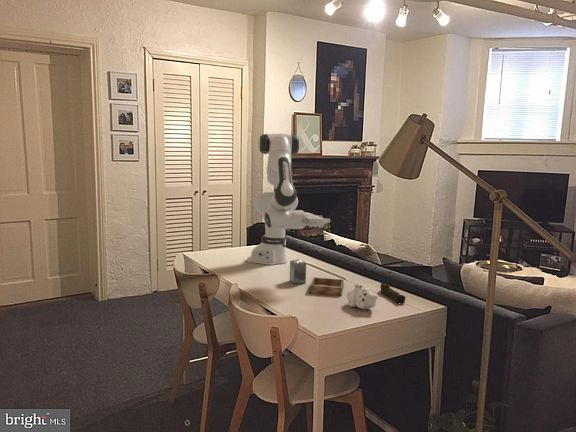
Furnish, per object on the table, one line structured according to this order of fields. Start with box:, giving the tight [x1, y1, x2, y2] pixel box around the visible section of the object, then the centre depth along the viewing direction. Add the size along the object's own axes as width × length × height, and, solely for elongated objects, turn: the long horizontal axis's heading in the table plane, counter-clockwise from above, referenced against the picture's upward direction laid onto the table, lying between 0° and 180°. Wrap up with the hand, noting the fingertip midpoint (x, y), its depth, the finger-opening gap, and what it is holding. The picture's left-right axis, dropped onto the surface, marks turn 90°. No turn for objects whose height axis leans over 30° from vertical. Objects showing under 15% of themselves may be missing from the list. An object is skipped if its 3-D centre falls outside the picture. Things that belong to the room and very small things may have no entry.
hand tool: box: [380, 282, 406, 304], centre depth 210 cm, size 19×4×5 cm, turn 13°
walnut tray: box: [309, 277, 345, 297], centre depth 217 cm, size 14×14×4 cm
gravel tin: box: [289, 258, 307, 285], centre depth 228 cm, size 6×6×11 cm
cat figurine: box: [346, 284, 379, 310], centre depth 194 cm, size 10×8×15 cm
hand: (326, 219), depth 231 cm, fingers open, 8 cm apart
